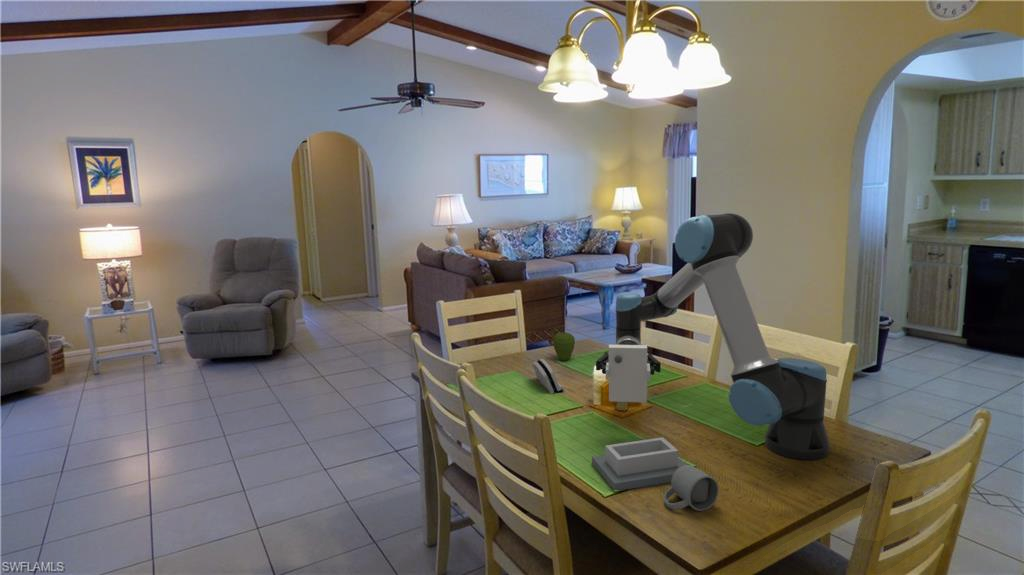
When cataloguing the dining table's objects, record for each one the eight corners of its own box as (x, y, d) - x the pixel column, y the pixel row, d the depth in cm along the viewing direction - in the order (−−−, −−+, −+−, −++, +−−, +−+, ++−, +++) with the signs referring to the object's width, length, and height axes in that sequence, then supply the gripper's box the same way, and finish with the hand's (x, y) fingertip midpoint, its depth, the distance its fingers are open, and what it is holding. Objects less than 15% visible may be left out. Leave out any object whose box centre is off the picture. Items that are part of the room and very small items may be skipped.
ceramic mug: (695, 489, 137) (695, 457, 136) (719, 506, 130) (719, 473, 128) (655, 499, 134) (655, 467, 132) (677, 518, 126) (677, 484, 125)
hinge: (565, 392, 201) (555, 366, 198) (552, 398, 200) (542, 372, 198) (550, 376, 217) (541, 352, 214) (539, 382, 216) (529, 358, 214)
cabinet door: (646, 398, 163) (646, 345, 161) (647, 404, 159) (647, 349, 156) (609, 397, 165) (609, 344, 162) (608, 402, 161) (608, 348, 158)
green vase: (579, 360, 235) (579, 331, 233) (562, 364, 230) (561, 335, 228) (566, 355, 242) (565, 327, 240) (549, 359, 238) (548, 331, 236)
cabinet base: (664, 453, 155) (665, 431, 154) (693, 478, 142) (694, 454, 141) (591, 464, 150) (591, 441, 149) (614, 491, 137) (614, 467, 136)
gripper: (667, 364, 177) (672, 390, 156) (590, 362, 181) (584, 387, 160) (667, 339, 176) (672, 362, 154) (589, 338, 180) (584, 360, 159)
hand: (627, 375), depth 157 cm, fingers closed on cabinet door, 10 cm apart
